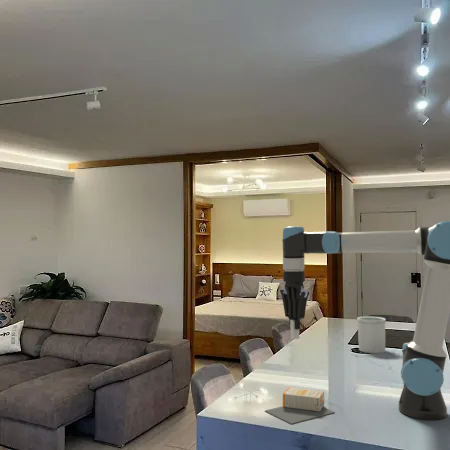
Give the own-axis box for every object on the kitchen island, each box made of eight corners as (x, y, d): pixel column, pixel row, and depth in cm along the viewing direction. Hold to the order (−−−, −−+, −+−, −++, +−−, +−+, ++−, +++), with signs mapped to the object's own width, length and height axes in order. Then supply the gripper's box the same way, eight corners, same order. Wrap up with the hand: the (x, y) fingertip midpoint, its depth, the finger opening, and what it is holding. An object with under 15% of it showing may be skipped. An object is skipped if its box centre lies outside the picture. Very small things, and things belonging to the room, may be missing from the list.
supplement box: (282, 407, 161) (320, 412, 155) (282, 393, 161) (319, 397, 156) (289, 400, 168) (325, 405, 163) (288, 387, 168) (324, 391, 163)
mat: (334, 412, 156) (334, 412, 156) (291, 424, 146) (291, 423, 146) (306, 401, 168) (306, 400, 168) (264, 411, 158) (264, 410, 158)
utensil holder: (383, 354, 242) (382, 321, 242) (354, 351, 249) (354, 319, 250) (388, 349, 254) (387, 317, 255) (361, 346, 262) (360, 315, 263)
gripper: (314, 270, 158) (316, 340, 157) (289, 269, 169) (290, 334, 168) (298, 271, 154) (299, 342, 153) (273, 270, 165) (274, 336, 164)
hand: (295, 338), depth 160 cm, fingers closed
